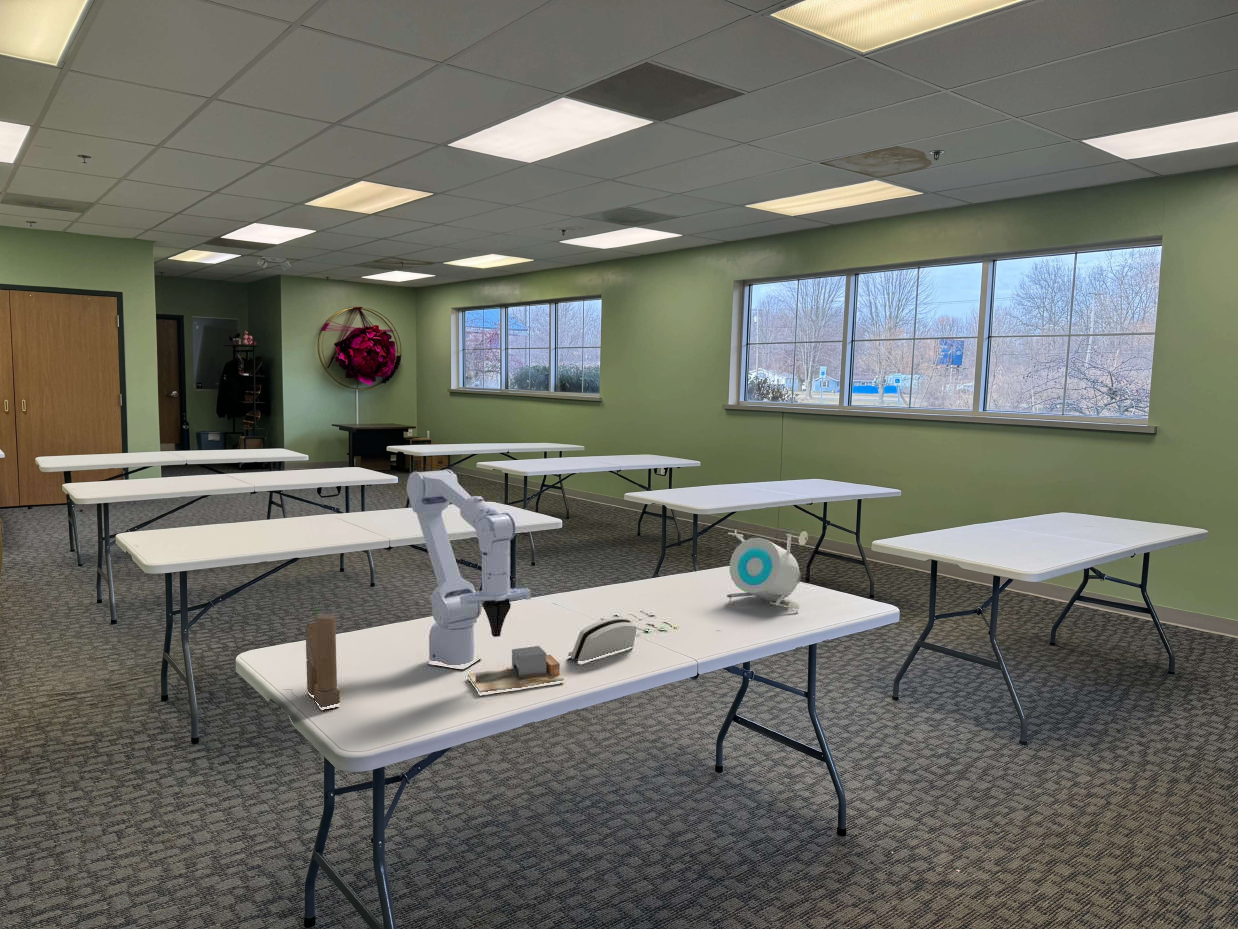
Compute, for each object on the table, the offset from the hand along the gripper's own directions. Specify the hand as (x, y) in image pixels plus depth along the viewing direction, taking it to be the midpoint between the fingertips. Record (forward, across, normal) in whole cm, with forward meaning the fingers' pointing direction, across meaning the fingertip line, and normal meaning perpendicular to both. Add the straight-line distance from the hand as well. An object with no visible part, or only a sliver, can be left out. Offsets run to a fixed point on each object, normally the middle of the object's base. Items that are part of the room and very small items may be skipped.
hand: (495, 635), depth 168 cm
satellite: (+10, +87, +31) cm, 93 cm away
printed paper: (+11, +45, +25) cm, 52 cm away
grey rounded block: (+10, +27, +6) cm, 30 cm away
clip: (+9, +7, -2) cm, 11 cm away
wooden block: (+10, -34, +2) cm, 36 cm away
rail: (+10, +4, -2) cm, 11 cm away
